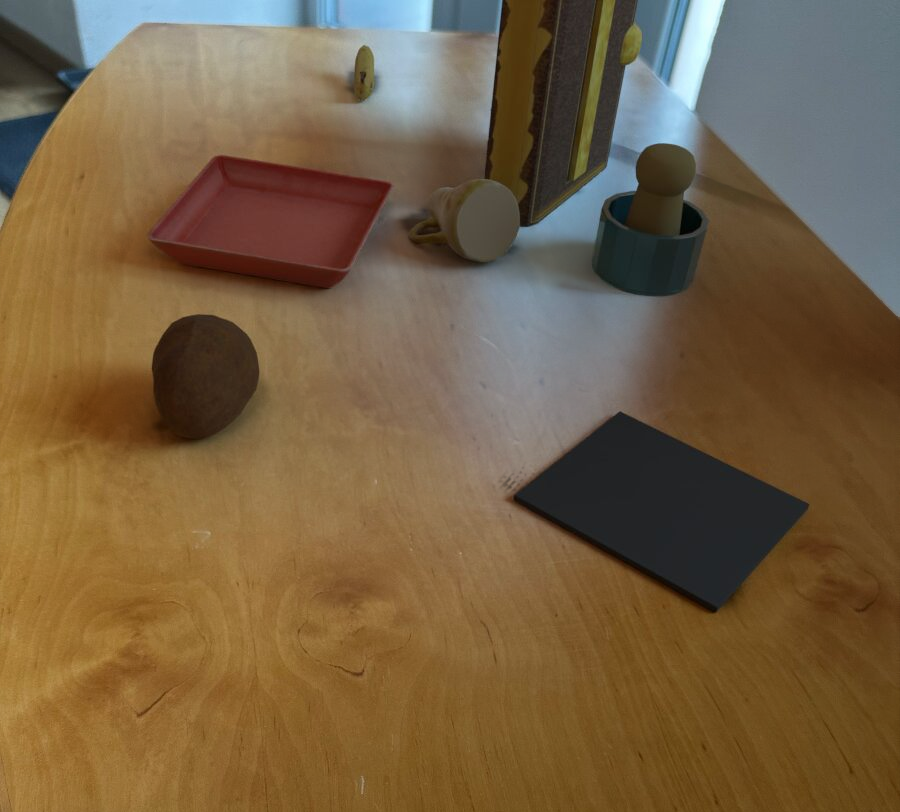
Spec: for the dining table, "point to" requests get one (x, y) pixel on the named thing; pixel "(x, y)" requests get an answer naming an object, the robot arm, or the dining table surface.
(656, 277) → the crock
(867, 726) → the dining table surface
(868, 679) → the dining table surface
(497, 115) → the book
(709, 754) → the dining table surface
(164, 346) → the potato
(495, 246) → the mug
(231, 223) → the plant saucer
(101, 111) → the dining table surface
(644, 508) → the mat
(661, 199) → the olive pawn piece
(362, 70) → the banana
